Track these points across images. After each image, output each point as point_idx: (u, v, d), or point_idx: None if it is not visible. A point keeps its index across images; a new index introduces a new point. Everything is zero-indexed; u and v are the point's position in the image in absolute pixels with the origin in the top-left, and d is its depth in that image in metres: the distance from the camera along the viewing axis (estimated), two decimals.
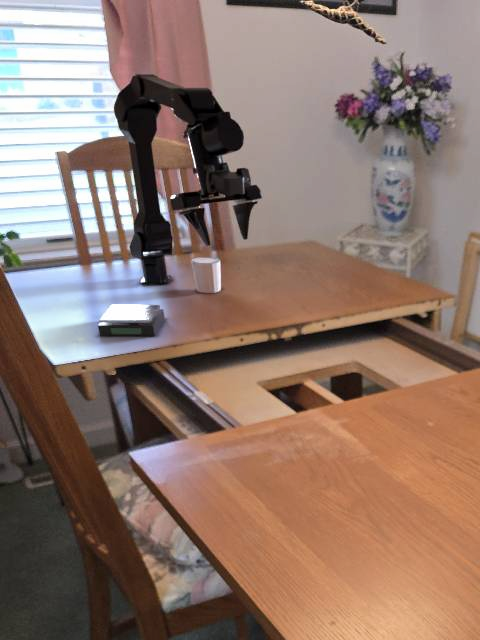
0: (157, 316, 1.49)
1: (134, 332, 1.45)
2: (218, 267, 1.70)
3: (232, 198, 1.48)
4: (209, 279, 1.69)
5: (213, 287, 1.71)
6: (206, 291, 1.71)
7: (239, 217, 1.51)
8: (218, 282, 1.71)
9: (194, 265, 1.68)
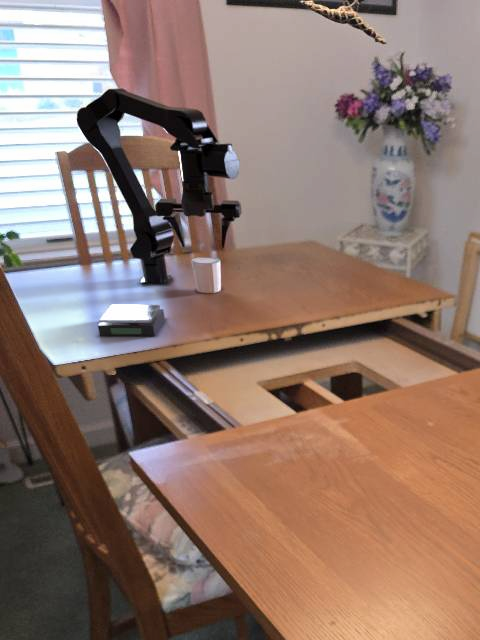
0: (157, 316, 1.49)
1: (134, 332, 1.45)
2: (218, 267, 1.70)
3: (213, 211, 1.63)
4: (209, 279, 1.69)
5: (213, 287, 1.71)
6: (206, 291, 1.71)
7: None
8: (218, 282, 1.71)
9: (194, 265, 1.68)
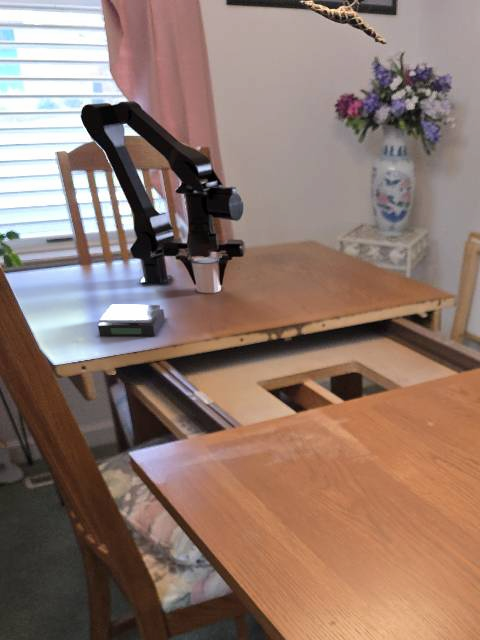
0: (157, 316, 1.49)
1: (134, 332, 1.45)
2: (218, 267, 1.70)
3: (218, 250, 1.68)
4: (209, 279, 1.69)
5: (213, 287, 1.71)
6: (206, 291, 1.71)
7: None
8: (218, 282, 1.71)
9: (194, 265, 1.68)
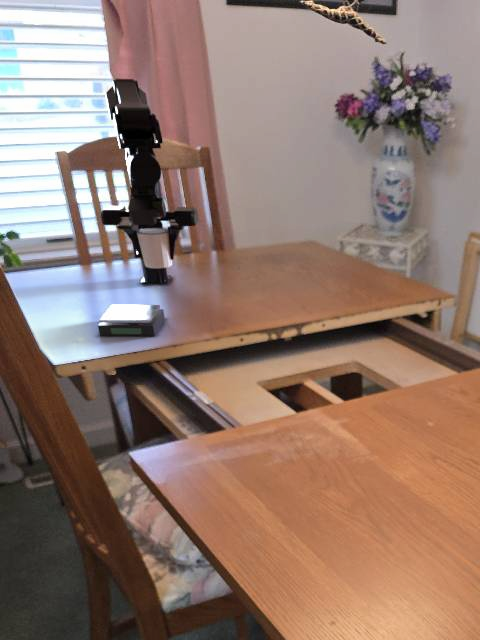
0: (157, 316, 1.49)
1: (134, 332, 1.45)
2: (167, 238, 1.49)
3: (167, 219, 1.47)
4: (157, 252, 1.49)
5: (163, 262, 1.50)
6: (154, 266, 1.50)
7: None
8: (168, 256, 1.51)
9: (139, 236, 1.47)
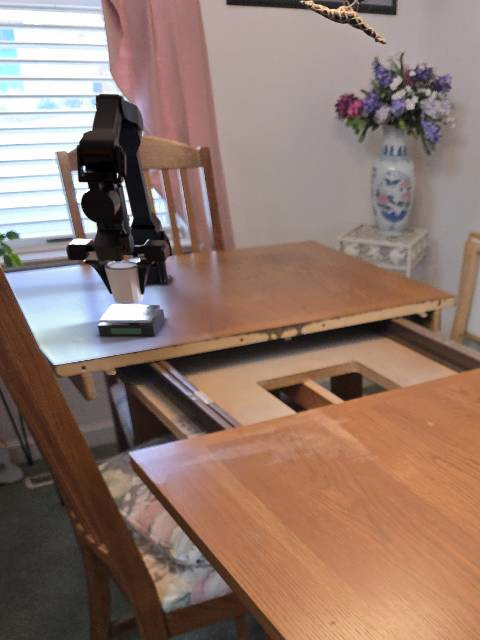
0: (157, 316, 1.49)
1: (134, 332, 1.45)
2: (137, 273, 1.43)
3: (136, 253, 1.41)
4: (126, 287, 1.42)
5: (132, 297, 1.44)
6: (124, 302, 1.44)
7: None
8: (138, 291, 1.44)
9: (107, 271, 1.41)
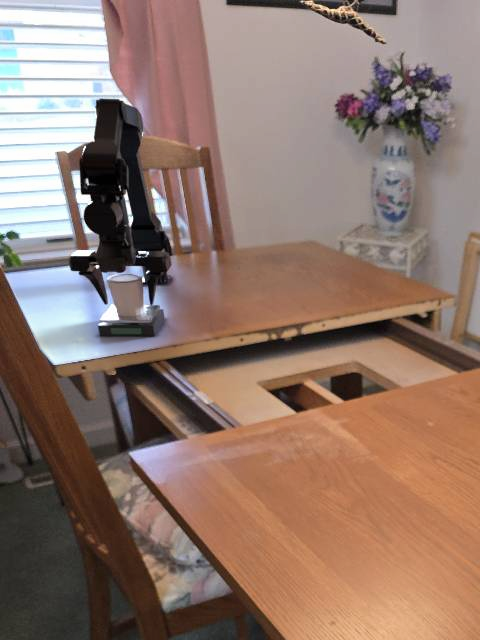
0: (157, 316, 1.49)
1: (134, 332, 1.45)
2: (139, 286, 1.44)
3: (138, 264, 1.42)
4: (129, 300, 1.44)
5: (135, 310, 1.45)
6: (126, 314, 1.45)
7: None
8: (140, 303, 1.46)
9: (110, 284, 1.42)
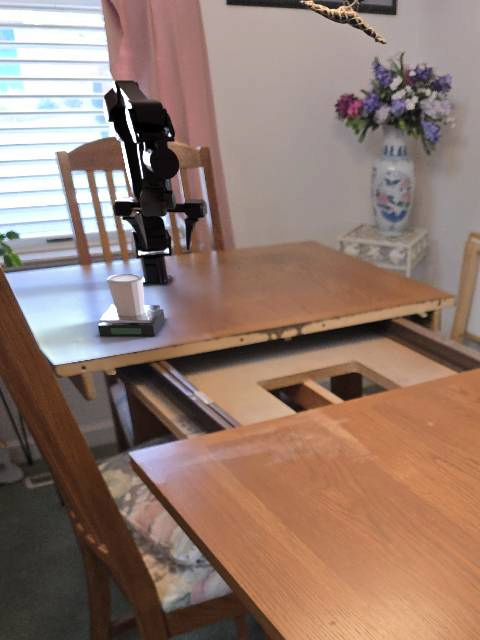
0: (157, 316, 1.49)
1: (134, 332, 1.45)
2: (139, 286, 1.44)
3: (176, 210, 1.52)
4: (129, 300, 1.44)
5: (135, 310, 1.45)
6: (126, 314, 1.45)
7: None
8: (140, 303, 1.46)
9: (110, 284, 1.42)
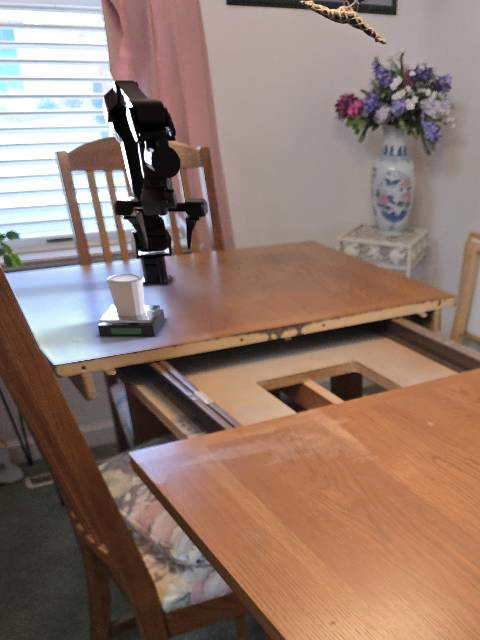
0: (157, 316, 1.49)
1: (134, 332, 1.45)
2: (139, 286, 1.44)
3: (177, 210, 1.52)
4: (129, 300, 1.44)
5: (135, 310, 1.45)
6: (126, 314, 1.45)
7: None
8: (140, 303, 1.46)
9: (110, 284, 1.42)
